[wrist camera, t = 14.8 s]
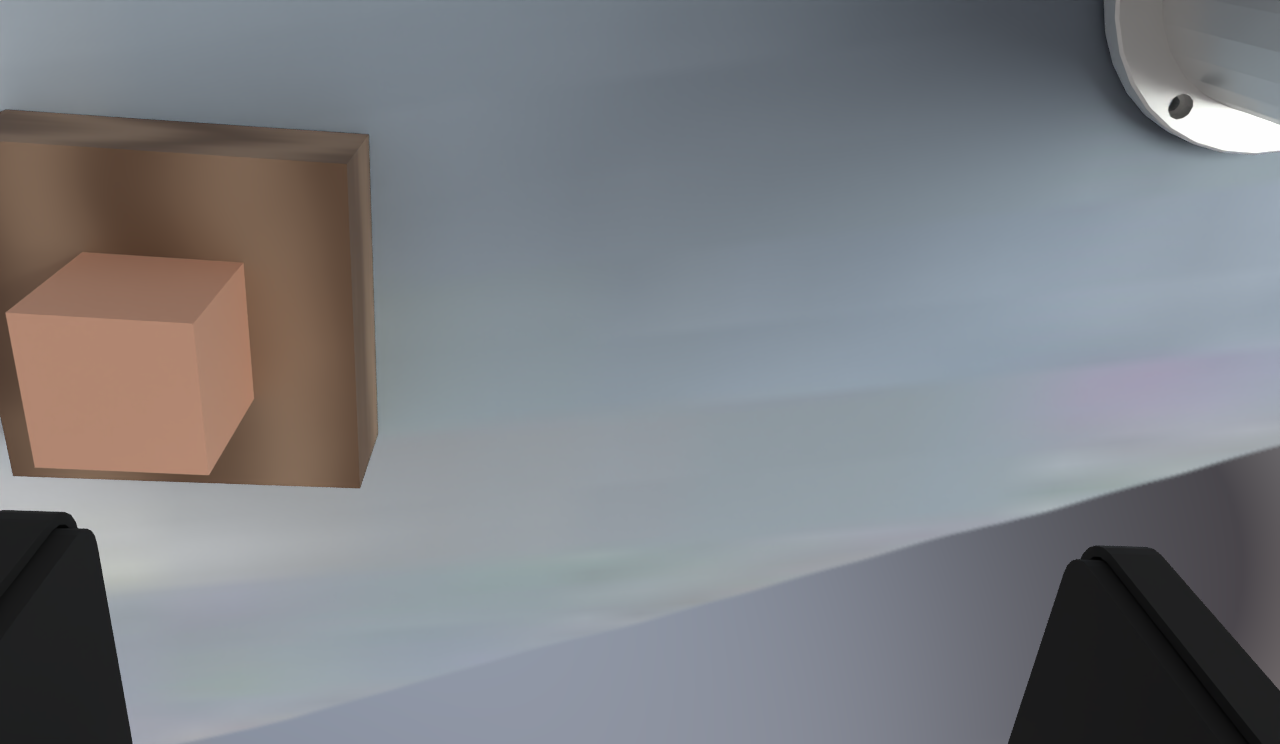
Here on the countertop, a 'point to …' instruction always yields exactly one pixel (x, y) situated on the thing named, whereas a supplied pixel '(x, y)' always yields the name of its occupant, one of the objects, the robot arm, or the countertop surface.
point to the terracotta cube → (134, 363)
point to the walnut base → (219, 231)
